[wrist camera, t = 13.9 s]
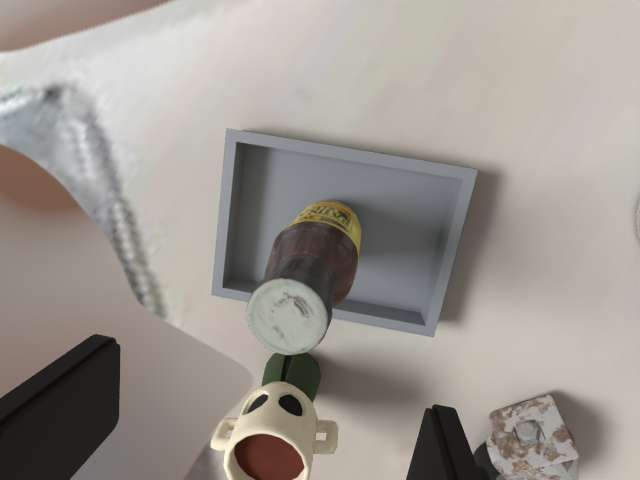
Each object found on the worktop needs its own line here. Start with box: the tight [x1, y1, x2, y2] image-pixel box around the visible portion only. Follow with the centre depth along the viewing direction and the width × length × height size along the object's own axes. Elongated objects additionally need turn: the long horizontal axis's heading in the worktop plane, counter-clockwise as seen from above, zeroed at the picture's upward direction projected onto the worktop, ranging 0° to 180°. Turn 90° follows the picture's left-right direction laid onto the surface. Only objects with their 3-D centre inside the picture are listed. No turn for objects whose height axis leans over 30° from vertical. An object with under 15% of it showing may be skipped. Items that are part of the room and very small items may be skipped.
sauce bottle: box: [247, 200, 361, 355], centre depth 26 cm, size 6×6×20 cm
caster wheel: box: [473, 395, 579, 480], centre depth 38 cm, size 7×11×10 cm
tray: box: [211, 128, 478, 337], centre depth 35 cm, size 22×16×4 cm
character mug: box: [211, 353, 338, 480], centre depth 35 cm, size 11×7×13 cm, turn 93°
